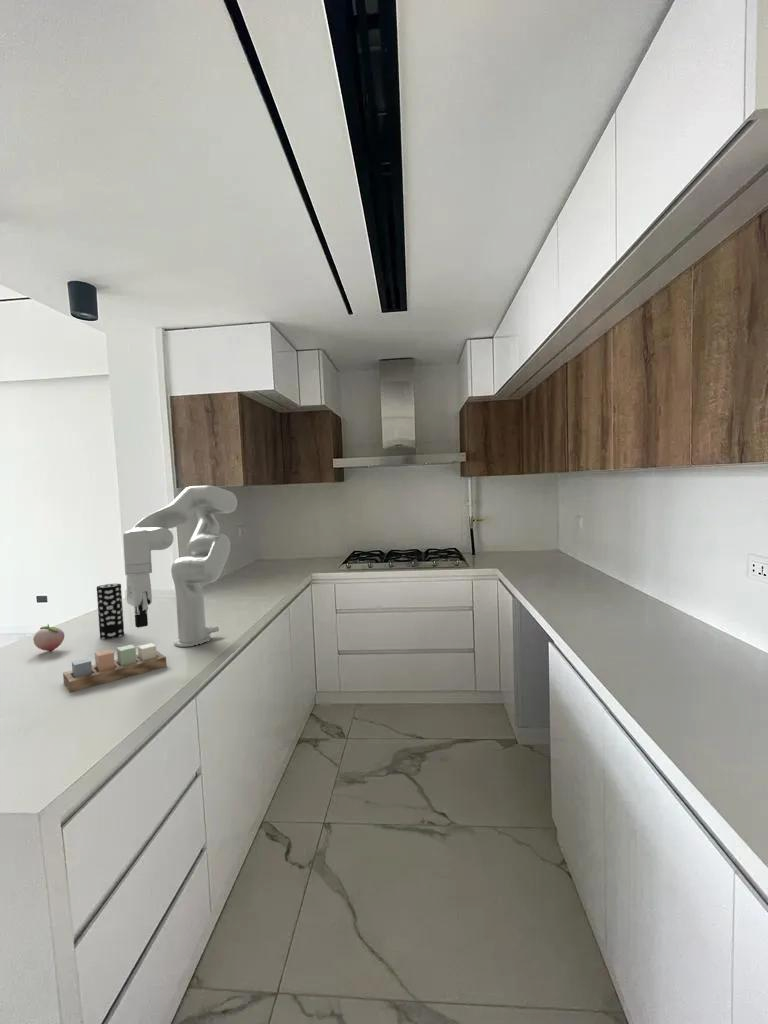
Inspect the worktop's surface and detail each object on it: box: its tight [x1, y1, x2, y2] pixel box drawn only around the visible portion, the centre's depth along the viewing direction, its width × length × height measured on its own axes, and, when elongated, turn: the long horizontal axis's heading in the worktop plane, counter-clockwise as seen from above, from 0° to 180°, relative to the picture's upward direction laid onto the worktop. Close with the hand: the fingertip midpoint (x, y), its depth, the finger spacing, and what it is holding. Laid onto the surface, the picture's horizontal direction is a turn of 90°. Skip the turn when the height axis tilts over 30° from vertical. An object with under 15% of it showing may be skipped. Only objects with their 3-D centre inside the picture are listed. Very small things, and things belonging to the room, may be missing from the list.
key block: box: [62, 649, 168, 693], centre depth 146 cm, size 26×10×3 cm, turn 133°
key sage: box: [116, 644, 137, 666], centre depth 148 cm, size 4×4×5 cm
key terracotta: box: [94, 649, 115, 672], centre depth 144 cm, size 4×4×5 cm
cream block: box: [137, 642, 157, 661], centre depth 152 cm, size 4×4×5 cm
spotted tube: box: [96, 583, 125, 640], centre depth 186 cm, size 8×8×20 cm
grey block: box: [71, 657, 92, 678], centre depth 140 cm, size 4×4×5 cm
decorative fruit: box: [32, 623, 65, 652], centre depth 169 cm, size 9×8×10 cm
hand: (141, 626), depth 150 cm, fingers closed
